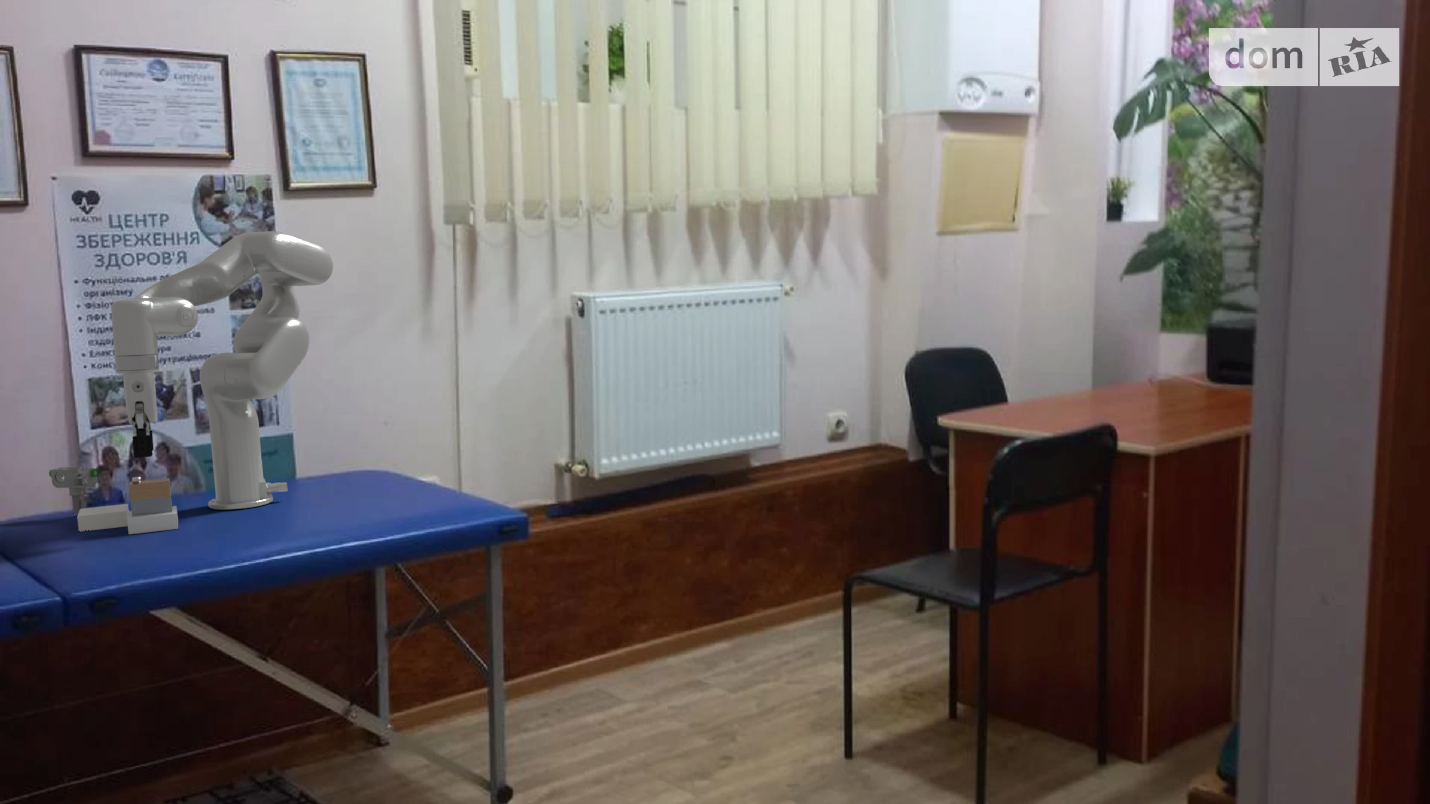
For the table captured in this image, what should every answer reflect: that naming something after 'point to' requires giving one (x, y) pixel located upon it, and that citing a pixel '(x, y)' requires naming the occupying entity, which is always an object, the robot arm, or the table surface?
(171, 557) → the table surface
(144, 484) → the housing
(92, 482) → the mechanical component
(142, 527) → the stand
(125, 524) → the stand
